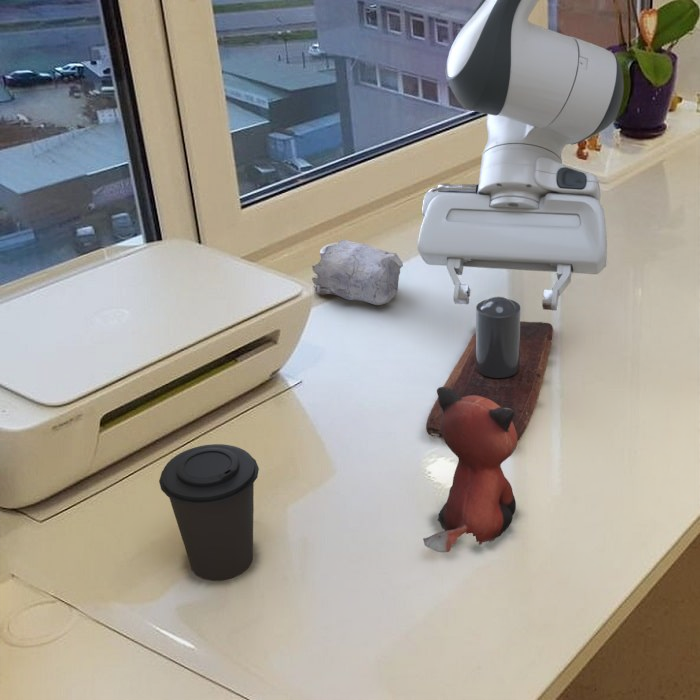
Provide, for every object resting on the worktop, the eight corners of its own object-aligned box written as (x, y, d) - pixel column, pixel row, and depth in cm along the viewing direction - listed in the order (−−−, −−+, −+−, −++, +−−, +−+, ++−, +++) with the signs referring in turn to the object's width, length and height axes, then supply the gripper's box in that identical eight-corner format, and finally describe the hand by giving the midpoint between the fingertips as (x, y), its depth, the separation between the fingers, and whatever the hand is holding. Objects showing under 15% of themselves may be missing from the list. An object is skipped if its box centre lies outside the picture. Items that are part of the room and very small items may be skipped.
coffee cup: (255, 595, 87) (242, 494, 82) (160, 588, 88) (142, 489, 83) (278, 533, 94) (268, 437, 89) (190, 527, 95) (175, 432, 90)
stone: (387, 315, 130) (385, 263, 127) (304, 299, 136) (300, 249, 132) (416, 290, 136) (415, 240, 133) (336, 276, 142) (332, 227, 138)
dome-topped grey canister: (515, 356, 116) (516, 287, 112) (523, 376, 112) (524, 306, 108) (473, 358, 116) (473, 290, 112) (479, 379, 112) (479, 309, 108)
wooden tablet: (481, 310, 127) (565, 309, 123) (483, 326, 128) (567, 326, 124) (418, 428, 105) (518, 431, 101) (421, 447, 106) (520, 451, 102)
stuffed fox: (395, 552, 90) (389, 433, 85) (453, 483, 99) (452, 370, 93) (476, 579, 87) (476, 456, 81) (530, 505, 95) (533, 389, 89)
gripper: (421, 170, 117) (403, 289, 113) (612, 177, 111) (600, 301, 108) (430, 195, 123) (414, 308, 119) (613, 202, 117) (602, 321, 114)
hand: (504, 305), depth 113 cm, fingers open, 8 cm apart
